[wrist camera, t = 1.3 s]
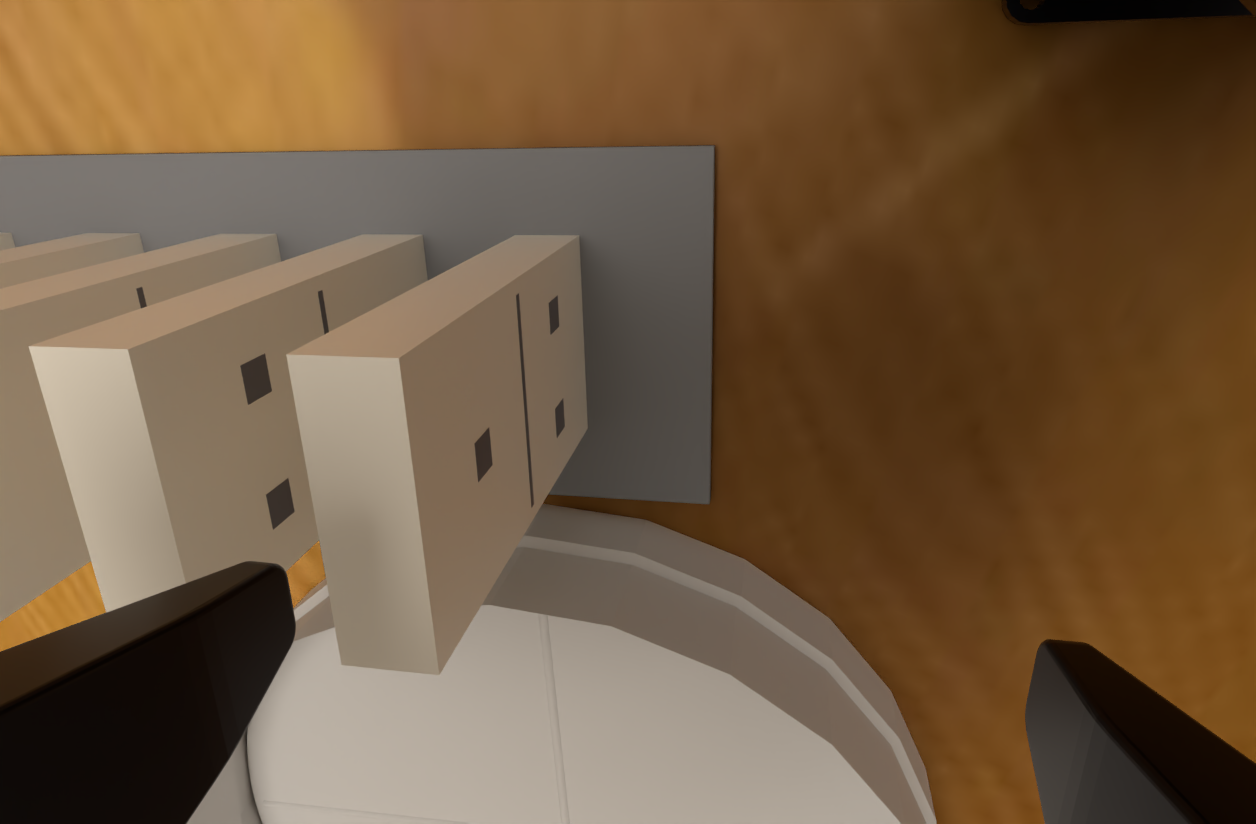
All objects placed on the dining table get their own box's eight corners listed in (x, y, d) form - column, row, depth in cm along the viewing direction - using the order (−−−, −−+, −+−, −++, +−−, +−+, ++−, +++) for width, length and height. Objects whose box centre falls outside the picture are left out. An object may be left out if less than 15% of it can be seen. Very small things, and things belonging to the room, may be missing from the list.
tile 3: (276, 233, 21) (-111, 341, 12) (308, 415, 23) (-10, 628, 14) (219, 233, 22) (-201, 338, 12) (255, 413, 23) (-91, 621, 14)
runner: (714, 145, 19) (713, 146, 19) (710, 499, 22) (709, 504, 22) (-58, 156, 23) (-68, 157, 22) (34, 458, 26) (26, 462, 26)
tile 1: (579, 235, 20) (400, 357, 11) (587, 428, 22) (439, 675, 13) (514, 234, 20) (285, 354, 11) (528, 425, 22) (340, 664, 13)
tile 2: (423, 234, 21) (128, 349, 11) (443, 421, 22) (203, 650, 13) (362, 234, 21) (28, 345, 12) (387, 418, 23) (114, 641, 14)
